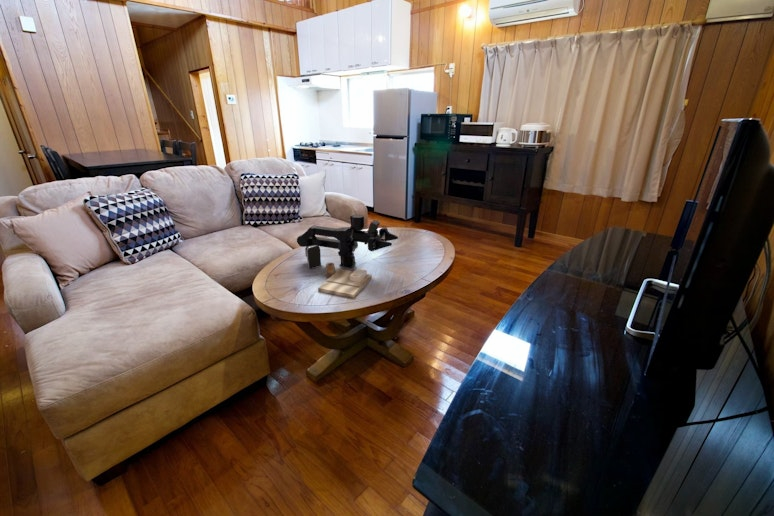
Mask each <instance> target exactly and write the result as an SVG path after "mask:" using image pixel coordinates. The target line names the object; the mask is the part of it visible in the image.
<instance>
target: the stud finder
mask: <svg viewBox="0 0 774 516" xmlns="http://www.w3.org/2000/svg"><path fill="white" fill-rule="evenodd" d="M352 272H353V273H352V274H351V275H350V281H355V282H361V280H362V279H363V278H364V277H365V276H366V275H367V274H368V273H367V272H368V270H367V269H362V268H356V269H355V270H354V271H352Z"/></svg>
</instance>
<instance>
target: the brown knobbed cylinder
mask: <svg viewBox="0 0 774 516" xmlns="http://www.w3.org/2000/svg"><path fill="white" fill-rule="evenodd" d="M335 267H336V266H335V263H334V262H327V263H326V264H325V270H326V271H325V272H326V278H328V279H329V278H330V277H331V276H332V275H333V274H334V273H336V271H335Z"/></svg>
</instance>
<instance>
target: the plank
mask: <svg viewBox="0 0 774 516" xmlns="http://www.w3.org/2000/svg"><path fill="white" fill-rule="evenodd" d="M353 272H354V271H351V270H347V269H337V271H335V273H334V274H333V275H332V276H331V277H330V278H329V277H328V279H326V280H325V281H324V282H323V283H322V284H321V285H320V286H319V287H317V291H318V292H321V293H327V294H333V295H337V296H342V297H347V298H353V299H354V298H356V296H357V295H358V294H359V292H361V290H362V289H364V287H365V286H366V285H367V284H368V282H369V281H370V280H371V279H372V277H373V276H372V274H369V273H367V275H366V276H365V277H364V278H363V279H362V280H361V282H355V281H350V275H351V274H352V273H353Z"/></svg>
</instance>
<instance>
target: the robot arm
mask: <svg viewBox="0 0 774 516" xmlns="http://www.w3.org/2000/svg"><path fill="white" fill-rule="evenodd" d="M349 219H350V226H345V227H343V226H342V227H339V228H337V227H336V228H335V227H327V226H320V225H317V224H316V225H315V224H314V225H312V226H310V227H309V228H308V229H307V230H306V231H305V232H304V233H302V234H300V235H299V236H298V237H297V238H296V243H297V244H298V246H299V247H301V248H302V247H304V248H306V247H307V246H311V245H318V246H319V247H320V248H330V249H335V250H338V251H337V253H338V257H339V258H340V264H339V265H338V266H339V267H343V268H350V269H351V268H352V267H353V266H355V264H357V263H356V256H355V253H354V252H355V251H356V250H357V249H358V247H359V243H364V245H367V250H368V251H369V252H373V253H374V252H375V251H378V250H381V249H384V248H387V247H391V246H392V244H393V243H392V242H389V241H394V240H398V239H399V236H398V235H395V234H393V233H391V232H390V231H389V230H388V227H386V226H385V227H384V226H382V227H381V228H380V229H379V230H378V228H379V226H380V224H381V222H379V221H378V220H377V219H373V220H372V221H371V222H370V224H369V226H368V229H367V230H363V229H364V228H365V215H364V214H355V215H354V214H352V215H350V217H349ZM320 236H322V237H320ZM327 237H330V238H327ZM334 238H335V239H334Z"/></svg>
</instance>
